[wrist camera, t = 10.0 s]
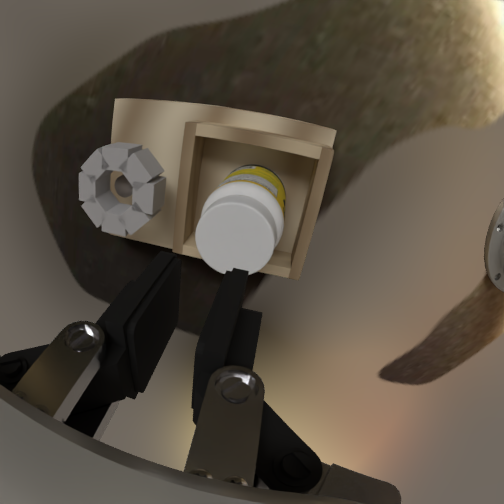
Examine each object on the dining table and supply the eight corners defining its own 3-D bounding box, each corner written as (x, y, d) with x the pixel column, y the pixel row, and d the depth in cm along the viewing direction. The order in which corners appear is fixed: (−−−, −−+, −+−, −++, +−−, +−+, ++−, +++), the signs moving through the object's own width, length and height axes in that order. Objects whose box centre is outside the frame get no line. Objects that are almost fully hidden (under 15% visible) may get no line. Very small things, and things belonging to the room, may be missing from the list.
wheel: (169, 148, 18) (156, 152, 17) (162, 231, 21) (151, 242, 19) (95, 140, 19) (79, 144, 17) (95, 216, 21) (80, 225, 20)
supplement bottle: (267, 234, 24) (254, 298, 16) (212, 207, 23) (174, 258, 16) (298, 181, 21) (300, 224, 14) (239, 151, 21) (208, 177, 13)
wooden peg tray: (332, 129, 21) (344, 134, 16) (297, 265, 27) (297, 302, 22) (127, 98, 22) (89, 100, 17) (120, 225, 27) (88, 251, 22)
